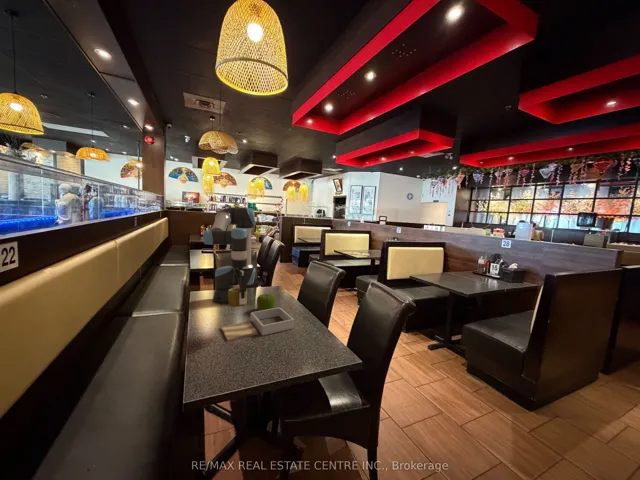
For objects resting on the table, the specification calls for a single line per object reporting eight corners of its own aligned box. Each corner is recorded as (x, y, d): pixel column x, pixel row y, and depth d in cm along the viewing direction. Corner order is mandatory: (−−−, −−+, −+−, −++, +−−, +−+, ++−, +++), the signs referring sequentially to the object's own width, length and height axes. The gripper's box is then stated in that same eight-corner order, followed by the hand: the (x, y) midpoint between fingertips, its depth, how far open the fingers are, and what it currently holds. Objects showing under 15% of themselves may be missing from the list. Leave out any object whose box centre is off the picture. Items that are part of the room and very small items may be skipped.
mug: (243, 306, 124) (239, 286, 126) (225, 310, 127) (221, 290, 128) (255, 302, 136) (252, 284, 137) (239, 306, 138) (236, 288, 140)
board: (221, 328, 137) (221, 326, 136) (249, 323, 145) (249, 320, 144) (227, 341, 124) (227, 338, 124) (257, 334, 132) (257, 332, 132)
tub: (250, 320, 147) (250, 312, 147) (279, 315, 157) (279, 307, 156) (262, 335, 131) (262, 326, 130) (294, 328, 140) (294, 319, 139)
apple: (273, 306, 170) (273, 290, 169) (275, 312, 160) (276, 295, 159) (256, 308, 167) (256, 291, 166) (257, 314, 157) (257, 297, 155)
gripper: (226, 255, 138) (226, 294, 140) (237, 263, 118) (237, 309, 121) (240, 254, 142) (240, 293, 144) (253, 262, 122) (253, 306, 124)
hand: (239, 300), depth 132 cm, fingers closed on mug, 11 cm apart
